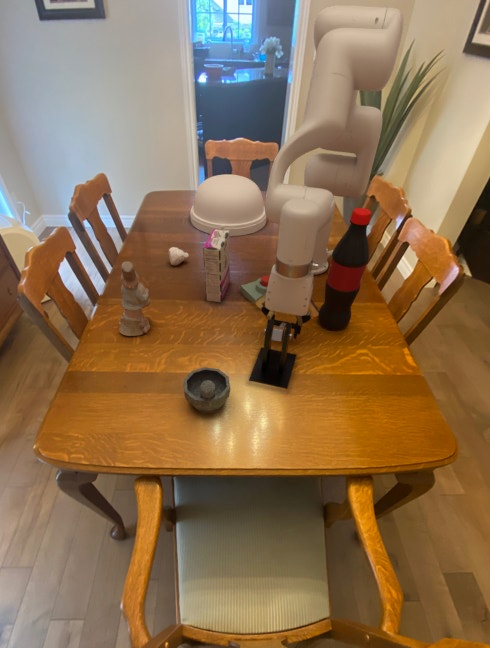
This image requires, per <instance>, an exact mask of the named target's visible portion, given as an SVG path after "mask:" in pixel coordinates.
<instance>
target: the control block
mask: <svg viewBox="0 0 490 648" xmlns="http://www.w3.org/2000/svg"><path fill="white" fill-rule="evenodd" d="M261 278H262V277H258V278H257V279H256V280H255V281H251V282H248V283H245V284H241V285H240V290H239V292H240V293H241V294H242V296H244V297H245V298H246V299H247V300H248V301H249V302H252V303H254V304H255V302H256V300H257V299H258V298H259V297H261V296H262V295H263V294H265V293H266V292H267V287H264V286H262V285H261ZM264 303H265V302H264Z"/></svg>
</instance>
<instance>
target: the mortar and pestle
mask: <svg viewBox="0 0 490 648" xmlns="http://www.w3.org/2000/svg"><path fill="white" fill-rule="evenodd" d="M183 394H184V397H185V400H186V401H187V402H188V403H189V404H190V405H191V406H192V407H194V408H195V409H196V410H197V411H199V412H200V413H205V414H212V413H214V412H217V411H218V410H219V409H220V408H222V406H223V405H225V402H226V401H227V400H228V398H229V397H230V394H231V383H230V378H229V375H227V374H226V373H224V372H223V371H222V370H221V369H220V368H213V367H207V366H206V367H205V366H204V367H201V368H197V369H194V370H191V371H190V372H189V373H188V374H187V376H186V377H185V378H184V379H183Z"/></svg>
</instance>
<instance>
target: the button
mask: <svg viewBox="0 0 490 648" xmlns="http://www.w3.org/2000/svg"><path fill="white" fill-rule="evenodd" d="M260 278H261V285H262V286H264V287H268V282H269V278H270V275H262V276H261V277H260Z"/></svg>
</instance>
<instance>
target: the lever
mask: <svg viewBox="0 0 490 648" xmlns="http://www.w3.org/2000/svg"><path fill="white" fill-rule="evenodd" d="M287 323H292V328H291V330H295V325H296V322H292V321H291V322H290V321H286V320H281V319H276V318H275V319H274V328H273V332H272V338H271V340H272V341H275V342H283V337H284V333H285V330H286V327H287Z"/></svg>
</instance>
